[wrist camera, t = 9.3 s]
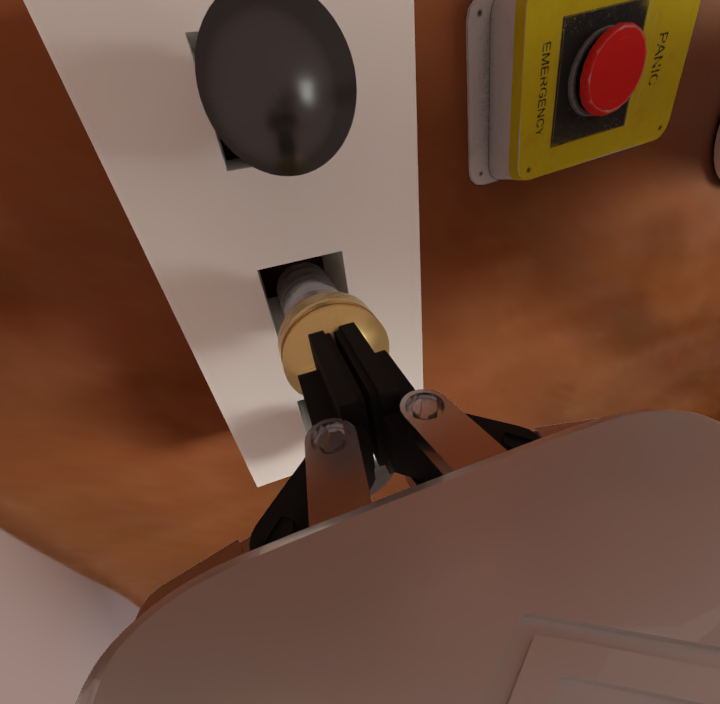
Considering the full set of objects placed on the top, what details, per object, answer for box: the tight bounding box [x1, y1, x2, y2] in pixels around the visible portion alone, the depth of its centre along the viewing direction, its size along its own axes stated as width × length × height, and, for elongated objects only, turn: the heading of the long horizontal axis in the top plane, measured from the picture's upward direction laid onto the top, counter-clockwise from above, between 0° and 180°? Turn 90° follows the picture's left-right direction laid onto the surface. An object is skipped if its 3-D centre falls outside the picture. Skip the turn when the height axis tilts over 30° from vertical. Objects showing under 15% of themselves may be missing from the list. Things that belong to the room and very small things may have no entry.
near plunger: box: [195, 0, 357, 176], centre depth 12 cm, size 4×4×7 cm
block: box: [23, 0, 423, 487], centre depth 20 cm, size 12×24×6 cm, turn 7°
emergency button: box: [466, 0, 701, 185], centre depth 20 cm, size 9×4×15 cm
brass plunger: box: [277, 262, 389, 395], centre depth 16 cm, size 4×4×7 cm
